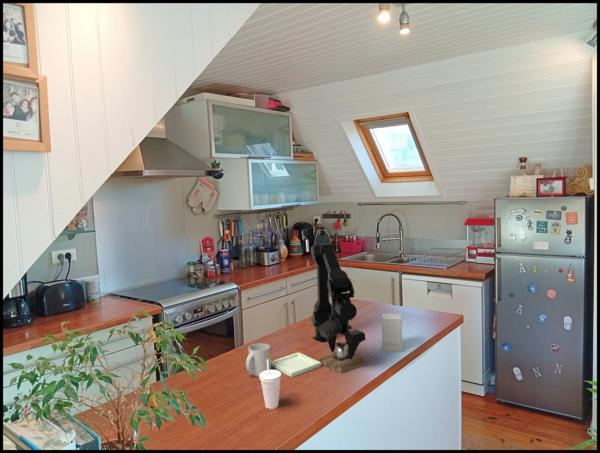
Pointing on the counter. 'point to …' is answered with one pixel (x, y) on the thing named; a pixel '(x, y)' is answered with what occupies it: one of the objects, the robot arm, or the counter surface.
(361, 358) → the socket
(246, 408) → the counter surface
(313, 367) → the tray
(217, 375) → the counter surface
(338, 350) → the pin
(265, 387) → the smoothie
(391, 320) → the supplement box
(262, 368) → the cup
